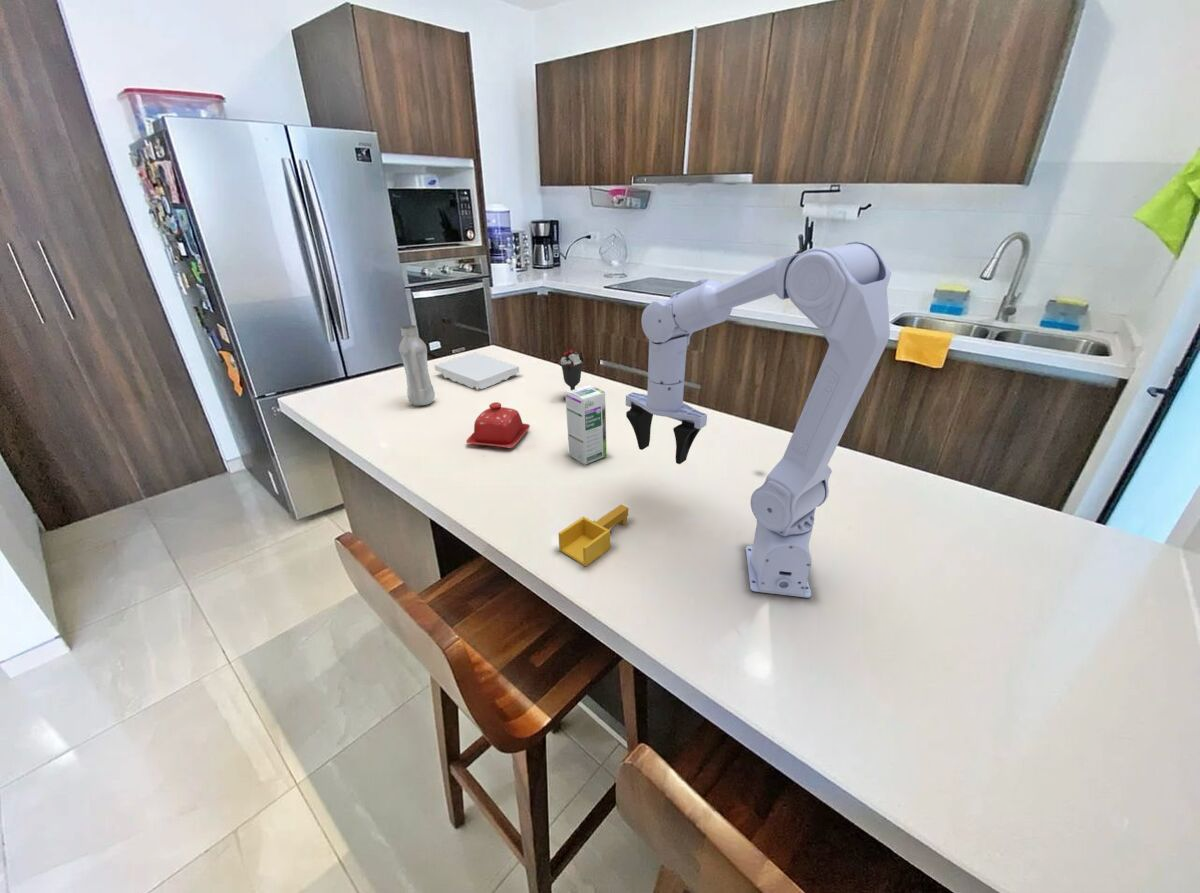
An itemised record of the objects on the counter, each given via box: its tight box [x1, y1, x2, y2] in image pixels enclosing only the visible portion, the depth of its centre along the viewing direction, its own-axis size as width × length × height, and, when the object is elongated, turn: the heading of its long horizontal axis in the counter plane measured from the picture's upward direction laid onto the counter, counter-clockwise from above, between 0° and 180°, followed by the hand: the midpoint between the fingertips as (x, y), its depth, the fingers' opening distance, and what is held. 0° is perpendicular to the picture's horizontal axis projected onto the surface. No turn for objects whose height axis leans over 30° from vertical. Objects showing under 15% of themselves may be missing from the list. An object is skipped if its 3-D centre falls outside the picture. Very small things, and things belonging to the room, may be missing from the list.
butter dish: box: [466, 401, 531, 448], centre depth 109 cm, size 12×12×8 cm
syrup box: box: [564, 384, 607, 466], centre depth 100 cm, size 6×6×14 cm
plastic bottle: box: [398, 324, 436, 406], centre depth 125 cm, size 6×7×20 cm
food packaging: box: [434, 351, 520, 391], centre depth 147 cm, size 15×3×20 cm
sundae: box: [558, 344, 585, 402], centre depth 128 cm, size 7×7×15 cm
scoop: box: [557, 504, 629, 567], centre depth 78 cm, size 13×6×3 cm, turn 139°
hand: (662, 454), depth 84 cm, fingers open, 7 cm apart
